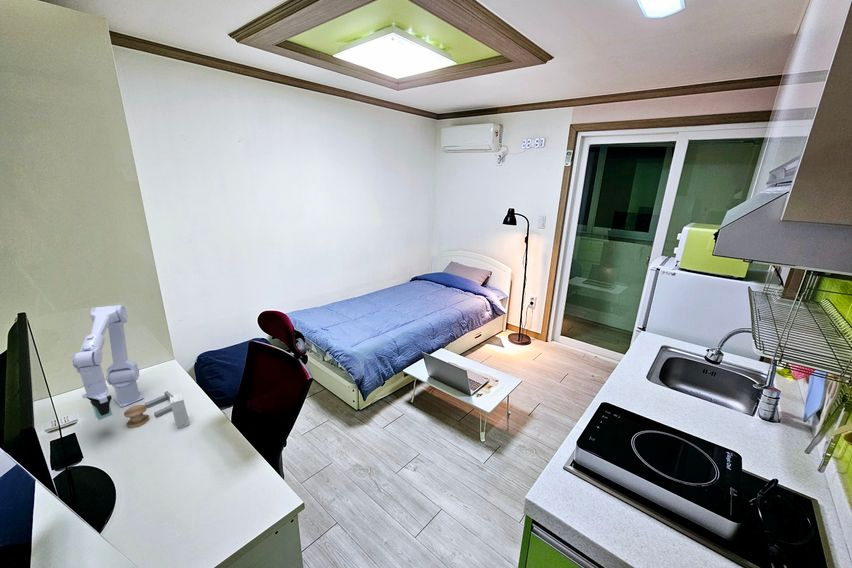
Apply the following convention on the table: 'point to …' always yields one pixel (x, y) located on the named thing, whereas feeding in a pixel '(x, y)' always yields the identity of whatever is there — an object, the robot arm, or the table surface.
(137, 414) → the spool
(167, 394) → the gray u-shaped block
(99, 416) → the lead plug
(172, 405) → the skincare box
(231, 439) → the table surface
